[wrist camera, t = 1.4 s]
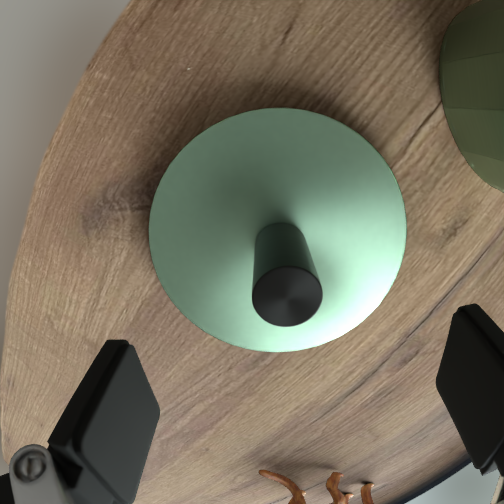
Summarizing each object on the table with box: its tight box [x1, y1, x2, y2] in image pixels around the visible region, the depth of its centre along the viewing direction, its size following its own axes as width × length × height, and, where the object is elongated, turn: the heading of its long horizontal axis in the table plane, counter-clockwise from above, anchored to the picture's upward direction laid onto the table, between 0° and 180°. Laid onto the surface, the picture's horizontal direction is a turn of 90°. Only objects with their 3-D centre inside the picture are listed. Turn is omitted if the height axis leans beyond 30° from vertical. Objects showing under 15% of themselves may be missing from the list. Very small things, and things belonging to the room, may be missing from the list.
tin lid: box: [149, 108, 407, 352], centre depth 15 cm, size 14×14×6 cm
